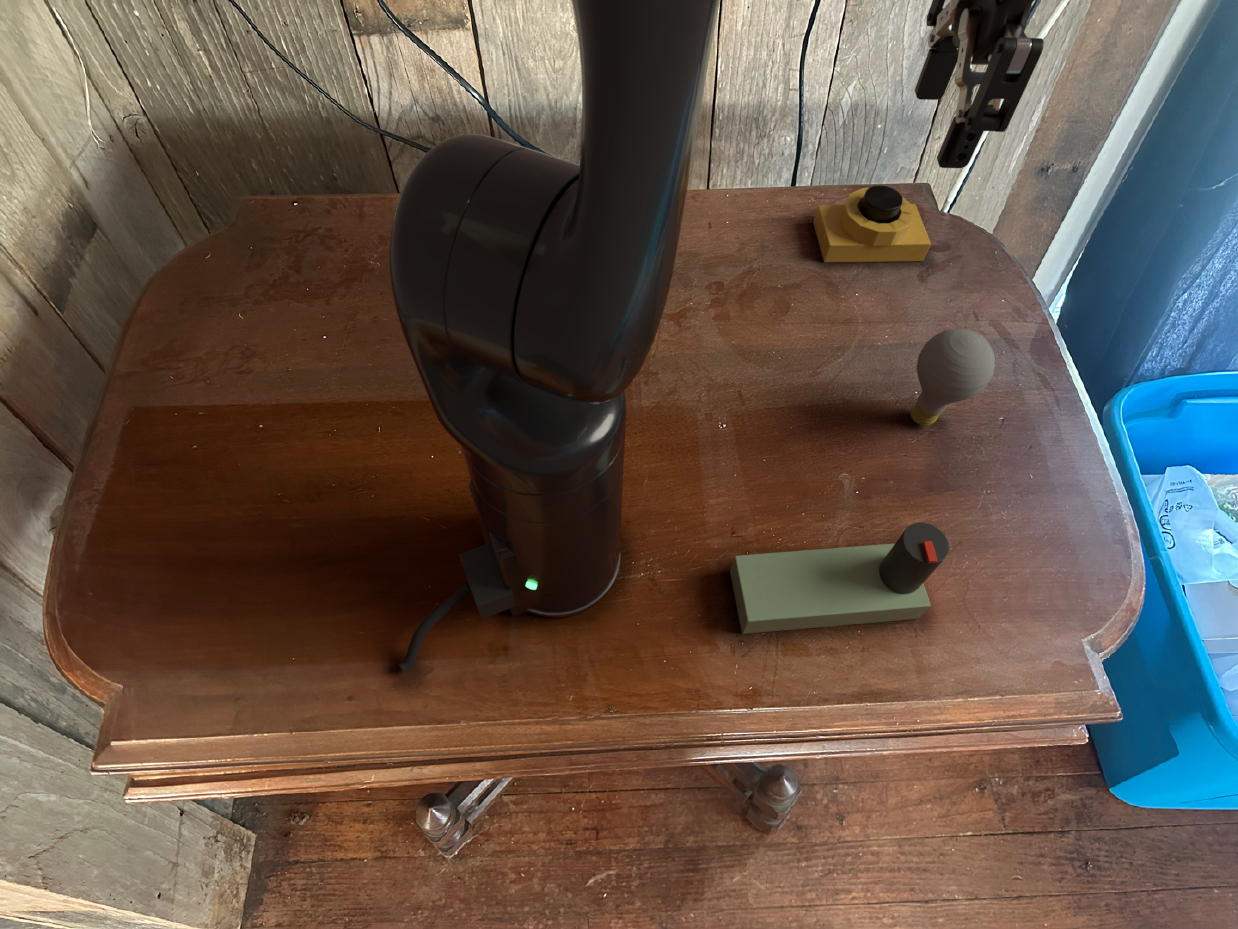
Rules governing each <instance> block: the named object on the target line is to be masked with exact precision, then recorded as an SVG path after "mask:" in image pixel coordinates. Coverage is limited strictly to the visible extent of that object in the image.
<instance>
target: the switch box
mask: <svg viewBox="0 0 1238 929" xmlns="http://www.w3.org/2000/svg"><path fill="white" fill-rule="evenodd" d="M869 188H870V187H862V188H860V189H857V190H855V191H852V192H851V193H849V195H848V196H847V198H846V200H845V202H844V204H818V205H817V208H816V211H815V215H814V218H813V222H812V223H813V226H814V230H815V235H816V237H817V240H818V245H819V249H820V252H821V256H822V259H823V263H876V262H877V263H878V262H879V263H882V262H883V263H884V262H889V263H890V262H891V263H892V262H923V261H924V260H925V258H926V257H927V254H928V252H929V249H930V248H931V246H932V243H931V240H930V238H929V235H928V232H927V231H926V230H927V229H926V227H925V225H924V222H923V219H922V217H921V214H920V212H919V209H918V207H917V205H916V204H917V203H911V202H909V200H907V198H905V197H904V196H902V199H903V202H902V205H901V208H900V210H899V212H898V215H897V217H896V219H895V220H894V221H893V222H891V223H876V222H873V221H870V220H867V219H866V218H865V217H864V216H863V215H861V213H860V206H861V203H862V200H863V197H864V194H865V192H866V191H867V189H869Z"/></svg>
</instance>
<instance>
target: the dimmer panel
mask: <svg viewBox="0 0 1238 929" xmlns="http://www.w3.org/2000/svg"><path fill="white" fill-rule="evenodd" d="M895 543H896V542H894V543H881V544H870V545H869V544H868V545H855V546H843V547H832V548H818V549H806V550H805V549H804V550H794V551H792V550H791V551H780V552H768V553H767V552H765V553H756V554H742V555H735V556H734V558H733V559H732V560H733V561H732V564H731V566H730V569H729V572H730V574H729V575H730V578H731V584H732V590H733V594H734V599H735V605H736V609H737V610H736V611H737V615H738V620H739V625H740V626H739V627H740V630H741V634H743V635H746V634H759V633H771V632H780V631H791V630H792V631H793V630H804V629H805V630H806V629H814V628H816V629H817V628H827V627H838V626H839V627H840V626H850V625H862V624H864V625H865V624H874V623H887V622H897V621H908V620H910V621H911V620H919V619H920V618H921V617H922V616H923V615H924V614H926V612H927V611H928V610H929V609H930V608H931V607H932V605H931V602H930V599H929V596H928V593H927V590H926V587H925V584H924V583H923V584H922V585H921V586H920V587H919V588H918V589H917V590H916V591H914V592H912V593H909V594H901V593H897V592H894V591H893V590H891V589H889V588H888V587H887V586H886V585H885V584H884V583H883V581H882V579H881V577H880V573H879V567H880V564H881V562H882V561H883V559H884V558H885V557H886V555H887V554H888V553H889V551H890V550H891V549H892V547H893V546H894V545H895Z"/></svg>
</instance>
